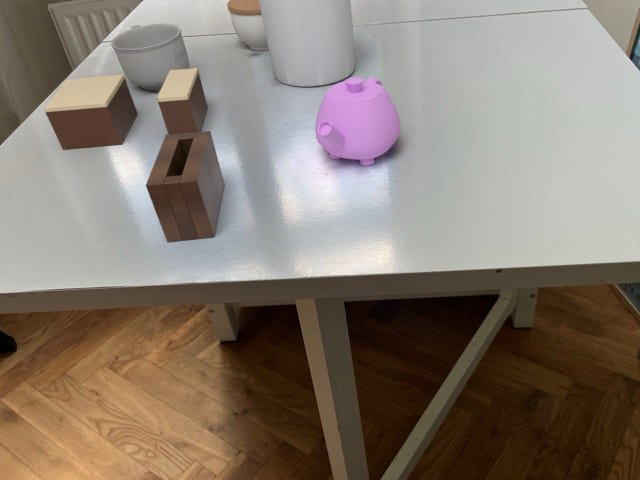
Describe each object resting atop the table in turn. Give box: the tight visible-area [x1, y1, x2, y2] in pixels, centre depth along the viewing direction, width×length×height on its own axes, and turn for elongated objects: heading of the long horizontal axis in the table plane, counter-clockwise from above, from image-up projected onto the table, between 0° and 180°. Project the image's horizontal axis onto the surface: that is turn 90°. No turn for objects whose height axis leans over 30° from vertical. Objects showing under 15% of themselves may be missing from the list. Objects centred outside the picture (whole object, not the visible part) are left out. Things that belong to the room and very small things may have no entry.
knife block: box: [145, 130, 226, 243], centre depth 61 cm, size 11×5×7 cm, turn 6°
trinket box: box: [226, 0, 269, 51], centre depth 102 cm, size 11×11×9 cm
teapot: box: [315, 76, 401, 166], centre depth 69 cm, size 10×15×9 cm
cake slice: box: [156, 67, 209, 135], centre depth 79 cm, size 4×10×6 cm, turn 6°
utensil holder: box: [259, 0, 356, 88], centre depth 88 cm, size 15×15×18 cm
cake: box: [43, 74, 138, 151], centre depth 78 cm, size 8×10×6 cm
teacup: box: [110, 23, 190, 92], centre depth 91 cm, size 14×11×8 cm
